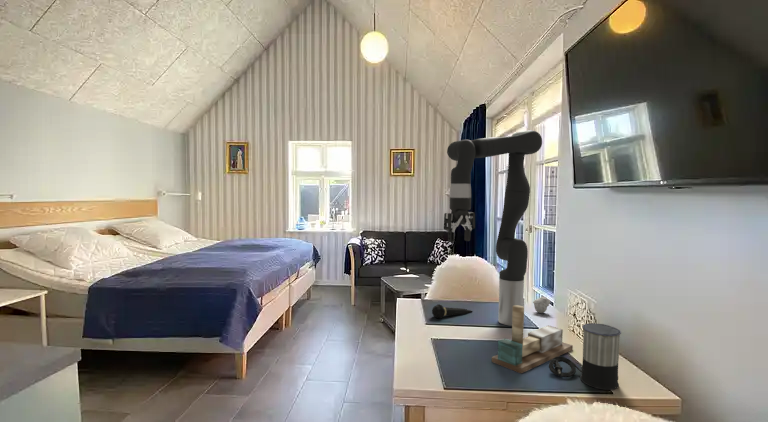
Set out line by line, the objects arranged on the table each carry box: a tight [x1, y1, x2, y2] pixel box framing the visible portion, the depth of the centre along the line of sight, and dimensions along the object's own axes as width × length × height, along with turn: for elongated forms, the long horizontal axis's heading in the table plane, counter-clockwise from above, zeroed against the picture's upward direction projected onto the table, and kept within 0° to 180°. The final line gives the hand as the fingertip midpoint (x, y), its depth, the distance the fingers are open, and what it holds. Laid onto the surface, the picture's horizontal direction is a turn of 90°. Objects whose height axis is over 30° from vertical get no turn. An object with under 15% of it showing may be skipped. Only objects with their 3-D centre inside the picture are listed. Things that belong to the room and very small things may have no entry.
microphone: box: [431, 304, 473, 320], centre depth 171 cm, size 6×6×20 cm
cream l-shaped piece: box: [511, 305, 541, 357], centre depth 126 cm, size 18×3×15 cm, turn 128°
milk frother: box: [548, 322, 622, 391], centre depth 113 cm, size 14×16×15 cm
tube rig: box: [491, 325, 574, 374], centre depth 129 cm, size 29×10×7 cm, turn 128°
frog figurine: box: [532, 296, 551, 314], centre depth 175 cm, size 6×7×7 cm
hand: (459, 241), depth 149 cm, fingers open, 8 cm apart
